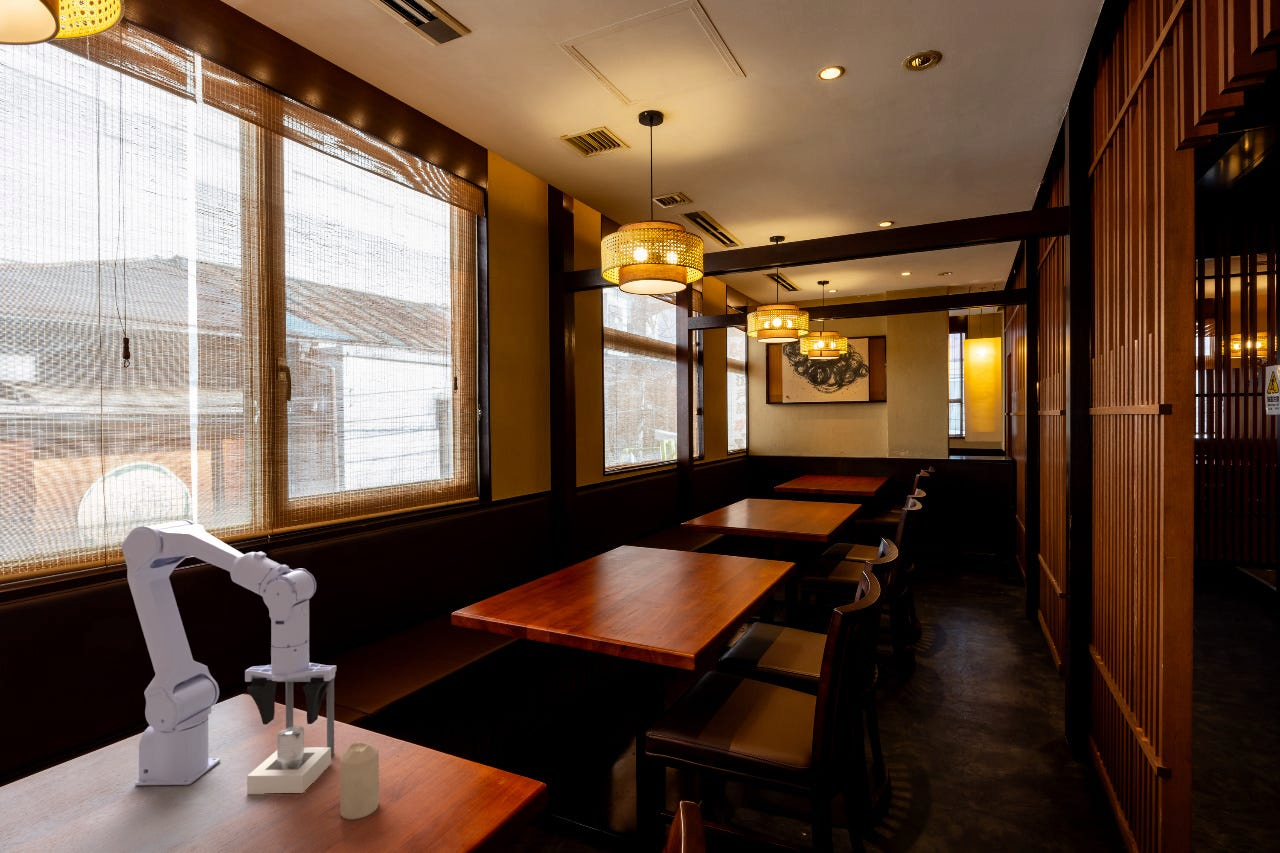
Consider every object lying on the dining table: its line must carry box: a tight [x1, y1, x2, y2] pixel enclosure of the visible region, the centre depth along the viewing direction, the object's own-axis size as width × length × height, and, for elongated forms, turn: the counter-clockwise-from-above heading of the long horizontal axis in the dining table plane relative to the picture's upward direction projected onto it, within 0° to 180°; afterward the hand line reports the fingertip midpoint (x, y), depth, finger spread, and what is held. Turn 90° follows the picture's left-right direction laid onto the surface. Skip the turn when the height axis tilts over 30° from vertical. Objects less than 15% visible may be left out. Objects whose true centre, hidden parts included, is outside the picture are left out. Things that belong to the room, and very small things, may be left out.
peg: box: [276, 725, 305, 770], centre depth 107 cm, size 4×4×8 cm
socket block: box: [246, 746, 332, 795], centre depth 107 cm, size 9×9×3 cm
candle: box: [339, 742, 380, 820], centre depth 98 cm, size 6×6×10 cm
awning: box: [277, 665, 337, 756], centre depth 113 cm, size 9×5×16 cm, turn 90°
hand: (290, 721), depth 107 cm, fingers open, 7 cm apart
